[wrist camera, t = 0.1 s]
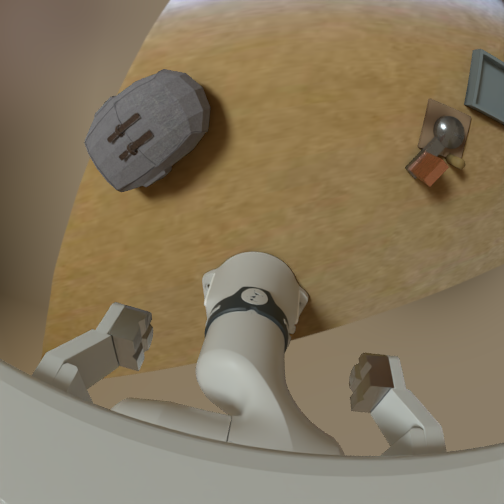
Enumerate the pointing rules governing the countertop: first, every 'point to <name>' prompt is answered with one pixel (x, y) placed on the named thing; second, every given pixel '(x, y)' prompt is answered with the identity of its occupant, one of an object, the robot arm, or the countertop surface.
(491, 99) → the tray
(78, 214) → the countertop surface
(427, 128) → the crank base
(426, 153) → the crank
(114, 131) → the soft grey pack
